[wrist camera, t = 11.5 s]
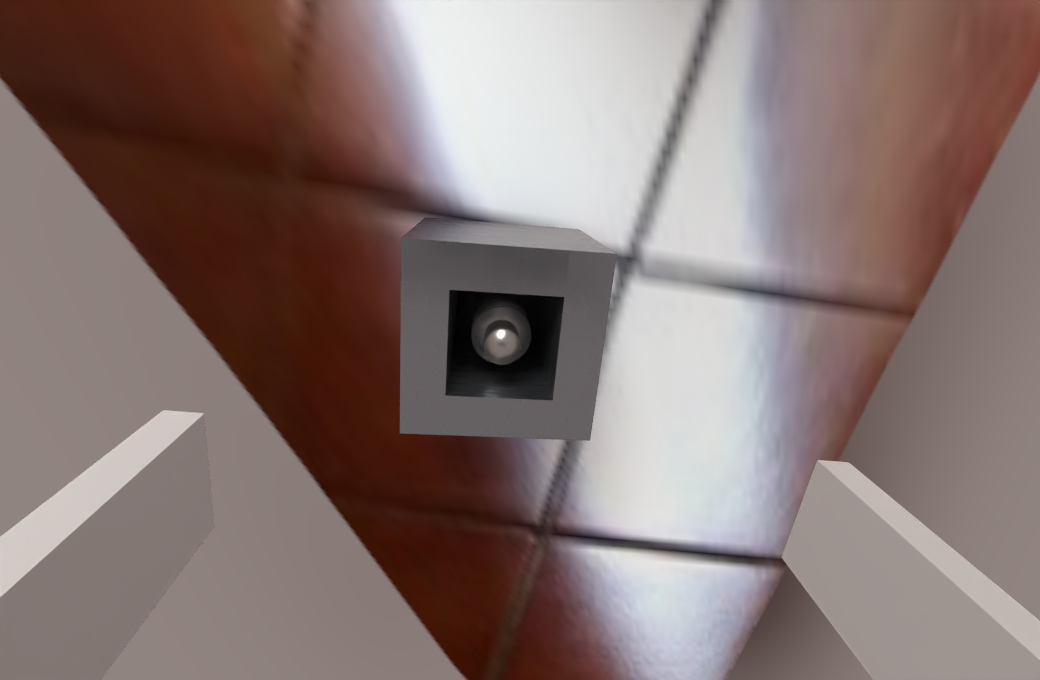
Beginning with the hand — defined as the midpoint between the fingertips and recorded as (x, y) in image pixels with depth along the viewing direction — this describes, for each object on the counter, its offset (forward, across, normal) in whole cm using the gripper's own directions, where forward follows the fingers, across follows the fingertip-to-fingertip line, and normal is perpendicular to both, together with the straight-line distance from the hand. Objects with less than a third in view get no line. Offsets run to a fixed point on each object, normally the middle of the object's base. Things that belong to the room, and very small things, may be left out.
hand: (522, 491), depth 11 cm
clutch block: (+17, 0, 0) cm, 17 cm away
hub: (+18, 0, 0) cm, 18 cm away
